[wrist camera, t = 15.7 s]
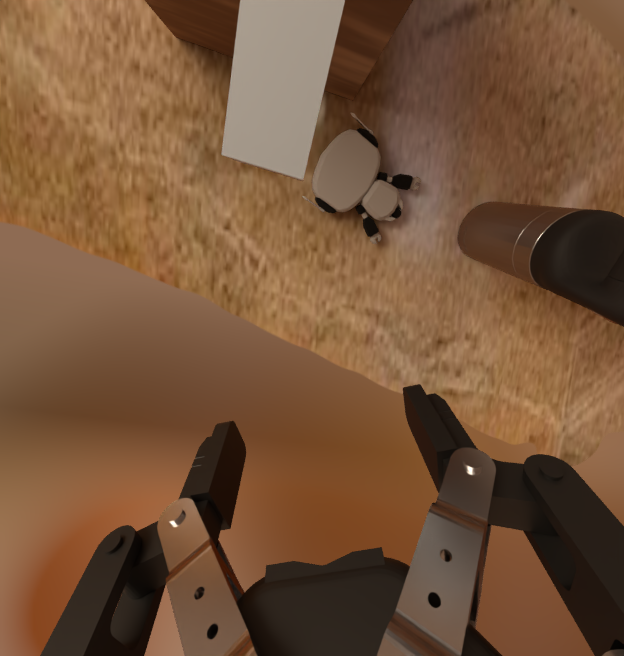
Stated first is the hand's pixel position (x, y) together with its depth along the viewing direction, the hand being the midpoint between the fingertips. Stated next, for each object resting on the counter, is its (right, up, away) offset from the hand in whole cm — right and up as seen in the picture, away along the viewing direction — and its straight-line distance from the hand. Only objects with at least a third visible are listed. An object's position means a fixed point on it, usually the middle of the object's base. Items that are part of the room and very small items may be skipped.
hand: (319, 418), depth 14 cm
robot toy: (+7, +26, +32) cm, 42 cm away
